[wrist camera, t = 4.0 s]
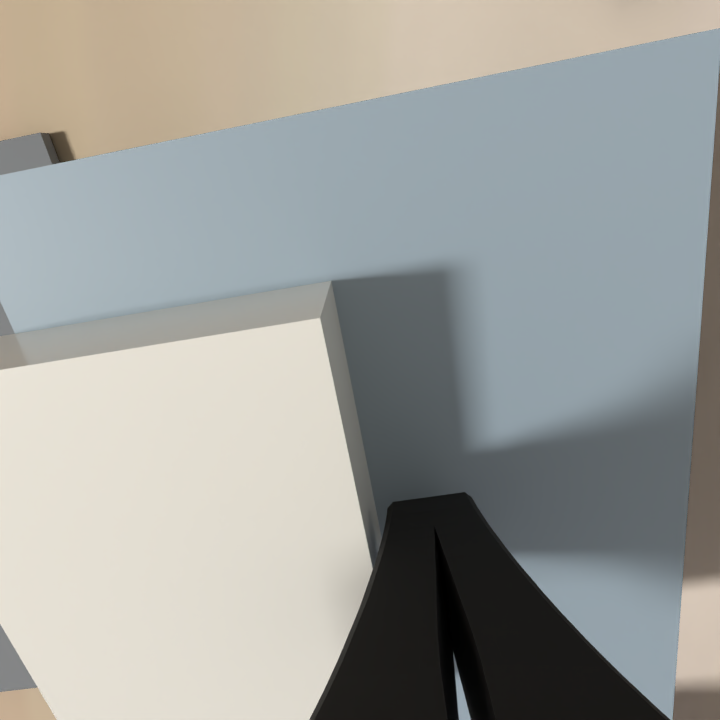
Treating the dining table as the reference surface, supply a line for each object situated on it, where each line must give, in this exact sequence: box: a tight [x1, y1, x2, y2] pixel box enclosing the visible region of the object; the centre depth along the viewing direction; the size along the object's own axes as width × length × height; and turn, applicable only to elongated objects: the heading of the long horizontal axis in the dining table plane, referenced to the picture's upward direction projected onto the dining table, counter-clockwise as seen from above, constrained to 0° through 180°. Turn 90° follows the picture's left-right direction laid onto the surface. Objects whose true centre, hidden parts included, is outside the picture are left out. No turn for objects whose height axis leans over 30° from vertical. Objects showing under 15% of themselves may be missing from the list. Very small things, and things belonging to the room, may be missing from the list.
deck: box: [0, 28, 720, 720], centre depth 11 cm, size 14×11×4 cm
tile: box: [0, 281, 382, 720], centre depth 9 cm, size 9×6×2 cm, turn 10°
